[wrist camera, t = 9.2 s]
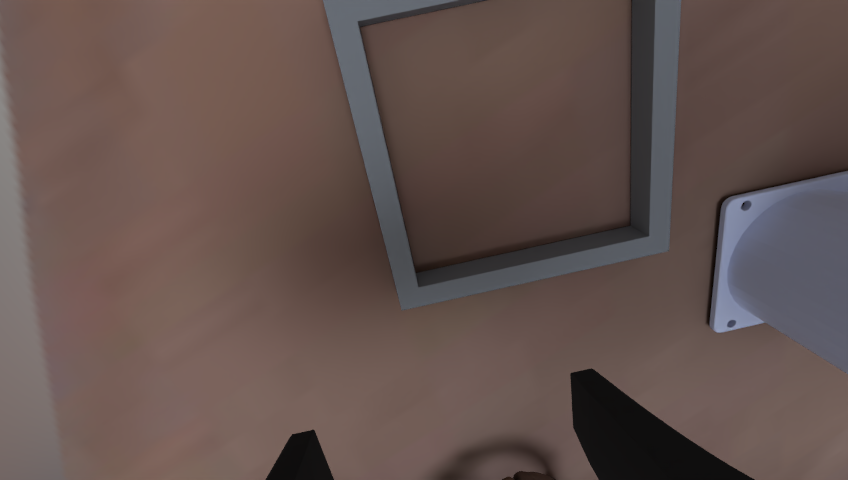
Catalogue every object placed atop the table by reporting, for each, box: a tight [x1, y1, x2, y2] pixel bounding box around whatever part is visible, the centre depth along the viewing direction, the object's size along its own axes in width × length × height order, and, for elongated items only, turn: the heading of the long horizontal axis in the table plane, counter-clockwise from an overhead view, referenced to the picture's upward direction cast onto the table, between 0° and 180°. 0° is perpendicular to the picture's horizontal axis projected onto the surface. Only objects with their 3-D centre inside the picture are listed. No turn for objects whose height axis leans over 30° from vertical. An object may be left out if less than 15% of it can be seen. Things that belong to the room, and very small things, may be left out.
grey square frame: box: [323, 0, 681, 310], centre depth 17 cm, size 13×13×2 cm
